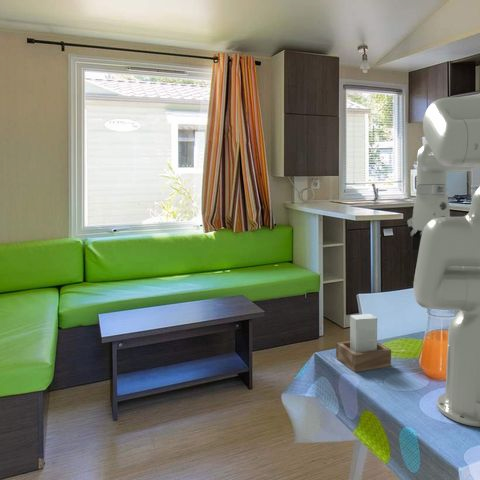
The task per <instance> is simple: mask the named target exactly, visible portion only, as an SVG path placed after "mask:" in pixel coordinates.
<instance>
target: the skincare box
mask: <svg viewBox="0 0 480 480" xmlns="http://www.w3.org/2000/svg"><path fill="white" fill-rule="evenodd" d="M349 327H350V328H349V337H350V338H349V341H350V349H351V350H353V351H354V352H356V353H360V352H366V351H373V350H377V342H378V317H377V316H374V315H373V314H371V313H365V314H363V313H362V314H350V315H349Z"/></svg>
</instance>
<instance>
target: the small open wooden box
mask: <svg viewBox="0 0 480 480" xmlns="http://www.w3.org/2000/svg"><path fill="white" fill-rule="evenodd" d="M336 358H337V359H336ZM335 359H336V360H338V361H339V362H340V363H342V364H343V365H345V366H346V367H347V368H348V369H350V370H351V371H353V372H354V373H358V372H364V371H369V370H370V371H371V370H375V369H381V368H388V367H392V362H391V361H392V348H389V347H387V346H385V345H383V344H382V343H381V342H378V341H377V350H373V351H366V352H360V353H356V352H354V351H353V350H351V349H350V340H346V341H340V342H338V341H337V342H336V343H335Z"/></svg>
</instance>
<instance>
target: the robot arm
mask: <svg viewBox="0 0 480 480" xmlns="http://www.w3.org/2000/svg"><path fill="white" fill-rule="evenodd" d="M422 131H423V135H424V138H425V140H426V143H425V144H424V145H422V146H421V147H420V148H418V151H417V154H416V164H417V165H416V187H415V188H416V190H415V191H416V192H415V193H416V194H415V197H414V204H413V210H412V217H410V218H409V219H407V220H406V221H407V222H406V223H407V226H408V231H409V233H410V236H411V250H412V251H418V254H417V258H416V259H417V261H416V264H415V265H416V267H415V273H414V279H413V296H414V300H415V302H416V304H418V305H419V306H420V307H422V308H424V309H427V310H439V311H440V310H443V311H447V310H448V311H458V312H457V313H456V314H455V316H454V317H453V319H452V320H451V322H450V324H449V327H448V331H447V348H446V349H447V351H446V352H447V353H446V370H445V372H446V374H445V392H444V393H443V394H441V395H440V396H438V397H437V399H436V407H437V409H438V410H439V412H440V413H441V414H442V415H444V416H445V417H447V418H449V419H450V420H452V421H454V422H457V423H460V424H463V425H467V426H471V427H479V428H480V185H479V186H478V187H477V189H476V190H475V191H474V193H473V195H472V198H471V203H470V208H469V211H468V213H467V214H466V215H463V216H451V213H450V202H449V197H448V196H447V194H446V193H447V190H448V188H447V174H448V173H465V172H470V171H473V170H475V169H477V168H480V96H479V95H478V96H459V97H441V98H439V99H436V100H434V101H433V102H431V103H430V105H429V106H428V107H427V109H426V111H425V113H424V115H423V121H422Z"/></svg>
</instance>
